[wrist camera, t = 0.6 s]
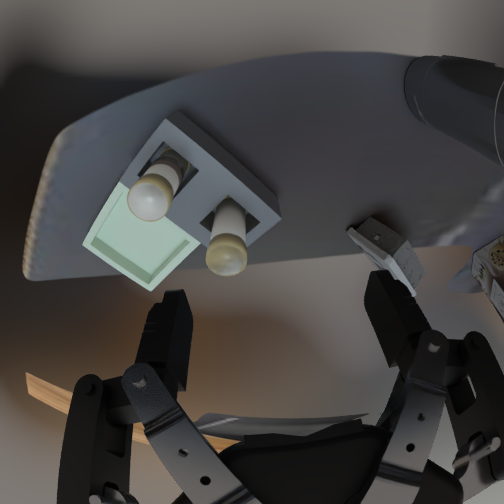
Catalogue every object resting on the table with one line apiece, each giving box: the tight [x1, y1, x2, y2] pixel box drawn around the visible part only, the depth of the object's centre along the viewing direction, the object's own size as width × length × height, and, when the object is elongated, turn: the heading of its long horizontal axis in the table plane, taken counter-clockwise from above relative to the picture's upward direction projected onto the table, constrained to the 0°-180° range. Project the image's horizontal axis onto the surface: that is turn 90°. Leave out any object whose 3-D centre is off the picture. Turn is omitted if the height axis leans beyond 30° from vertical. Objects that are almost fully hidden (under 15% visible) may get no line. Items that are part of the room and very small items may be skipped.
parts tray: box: [82, 182, 200, 291], centre depth 33 cm, size 12×12×2 cm
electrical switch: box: [347, 216, 426, 297], centre depth 31 cm, size 9×5×9 cm, turn 45°
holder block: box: [119, 110, 282, 248], centre depth 27 cm, size 8×15×5 cm, turn 45°
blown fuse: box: [127, 146, 191, 222], centre depth 23 cm, size 3×3×10 cm
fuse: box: [206, 195, 247, 276], centre depth 26 cm, size 3×3×10 cm
